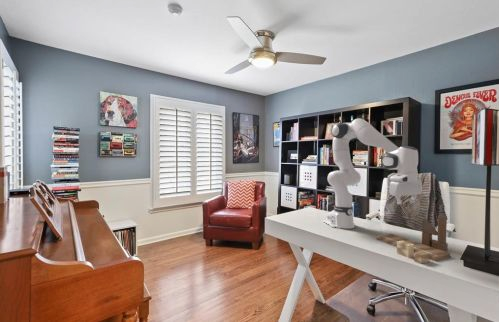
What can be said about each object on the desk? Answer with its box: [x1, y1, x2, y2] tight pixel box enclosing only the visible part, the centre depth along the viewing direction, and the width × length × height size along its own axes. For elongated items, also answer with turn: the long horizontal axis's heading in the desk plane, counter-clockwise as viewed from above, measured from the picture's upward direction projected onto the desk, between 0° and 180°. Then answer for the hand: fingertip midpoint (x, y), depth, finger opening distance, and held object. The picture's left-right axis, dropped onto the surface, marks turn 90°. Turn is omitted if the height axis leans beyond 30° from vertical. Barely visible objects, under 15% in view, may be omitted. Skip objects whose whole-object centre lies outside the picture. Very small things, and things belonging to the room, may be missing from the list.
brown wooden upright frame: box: [421, 214, 449, 252], centre depth 132 cm, size 4×11×18 cm, turn 29°
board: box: [376, 233, 452, 262], centre depth 132 cm, size 32×12×2 cm, turn 22°
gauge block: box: [396, 241, 414, 259], centre depth 122 cm, size 6×4×6 cm, turn 22°
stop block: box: [413, 251, 430, 265], centre depth 115 cm, size 3×6×4 cm, turn 112°
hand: (405, 203), depth 128 cm, fingers open, 8 cm apart
